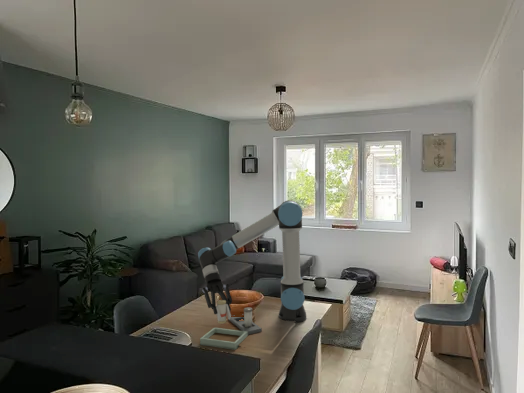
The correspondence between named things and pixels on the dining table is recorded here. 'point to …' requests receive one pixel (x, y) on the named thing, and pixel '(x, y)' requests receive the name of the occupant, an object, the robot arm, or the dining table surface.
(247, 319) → the plain fuse
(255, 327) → the fuse holder
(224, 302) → the marked fuse
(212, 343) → the tray
